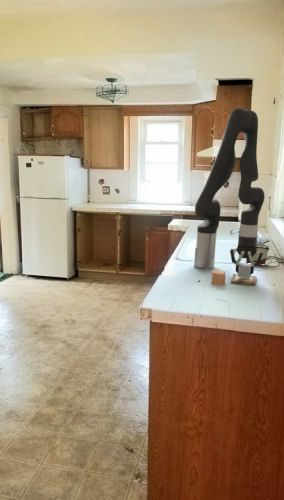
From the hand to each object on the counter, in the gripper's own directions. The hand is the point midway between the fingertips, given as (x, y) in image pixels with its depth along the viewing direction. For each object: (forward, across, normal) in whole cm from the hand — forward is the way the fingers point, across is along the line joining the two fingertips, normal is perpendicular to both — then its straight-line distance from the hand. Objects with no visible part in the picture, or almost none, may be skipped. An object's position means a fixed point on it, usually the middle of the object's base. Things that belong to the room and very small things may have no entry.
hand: (244, 273), depth 162 cm
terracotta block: (+3, -10, -8) cm, 13 cm away
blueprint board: (+3, 0, 0) cm, 3 cm away
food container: (+4, +3, +35) cm, 35 cm away
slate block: (+1, 0, 0) cm, 1 cm away
